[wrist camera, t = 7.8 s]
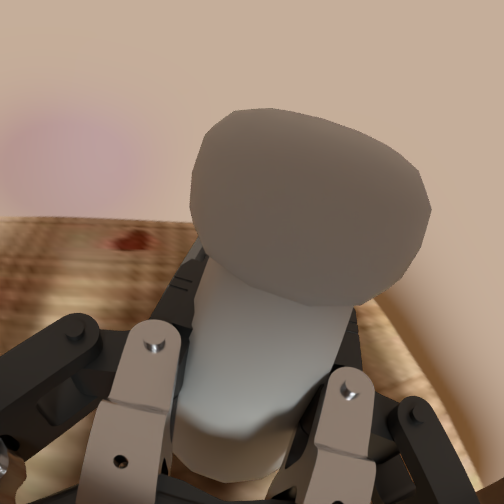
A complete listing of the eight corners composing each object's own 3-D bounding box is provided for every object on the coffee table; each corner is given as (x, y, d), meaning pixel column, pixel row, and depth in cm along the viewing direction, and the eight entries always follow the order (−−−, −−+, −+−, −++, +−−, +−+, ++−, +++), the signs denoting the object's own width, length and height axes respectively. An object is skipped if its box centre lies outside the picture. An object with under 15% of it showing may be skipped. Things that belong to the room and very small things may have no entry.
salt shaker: (241, 368, 15) (321, 108, 8) (308, 449, 12) (501, 200, 5) (140, 409, 12) (119, 87, 5) (204, 512, 8) (408, 252, 1)
